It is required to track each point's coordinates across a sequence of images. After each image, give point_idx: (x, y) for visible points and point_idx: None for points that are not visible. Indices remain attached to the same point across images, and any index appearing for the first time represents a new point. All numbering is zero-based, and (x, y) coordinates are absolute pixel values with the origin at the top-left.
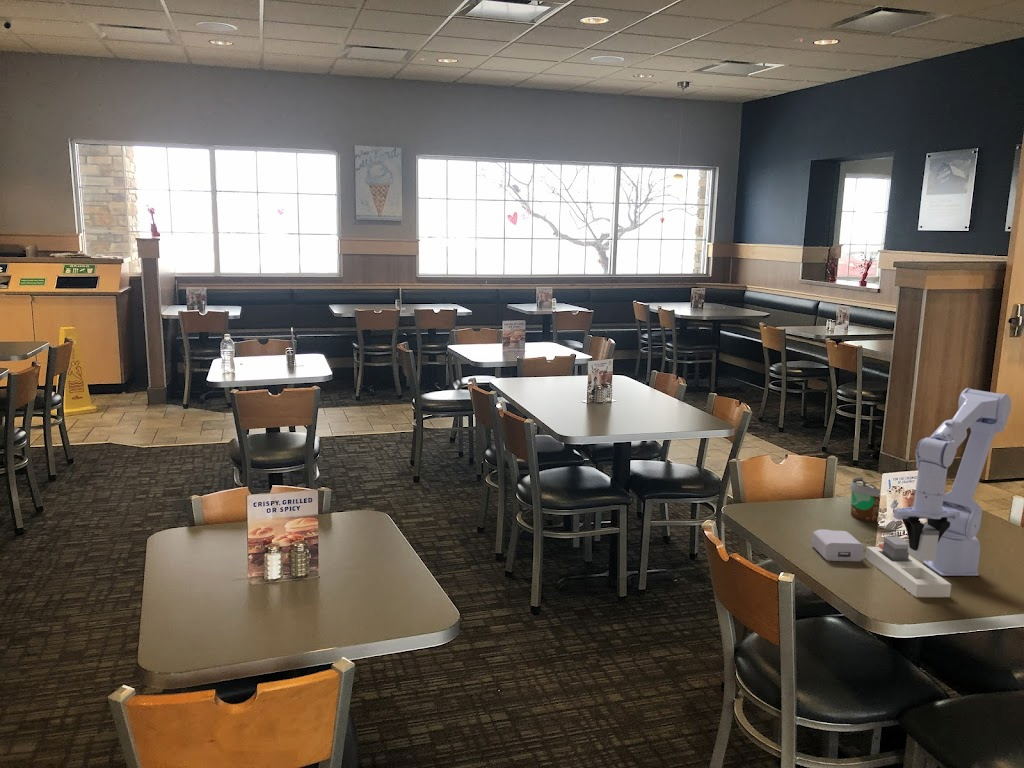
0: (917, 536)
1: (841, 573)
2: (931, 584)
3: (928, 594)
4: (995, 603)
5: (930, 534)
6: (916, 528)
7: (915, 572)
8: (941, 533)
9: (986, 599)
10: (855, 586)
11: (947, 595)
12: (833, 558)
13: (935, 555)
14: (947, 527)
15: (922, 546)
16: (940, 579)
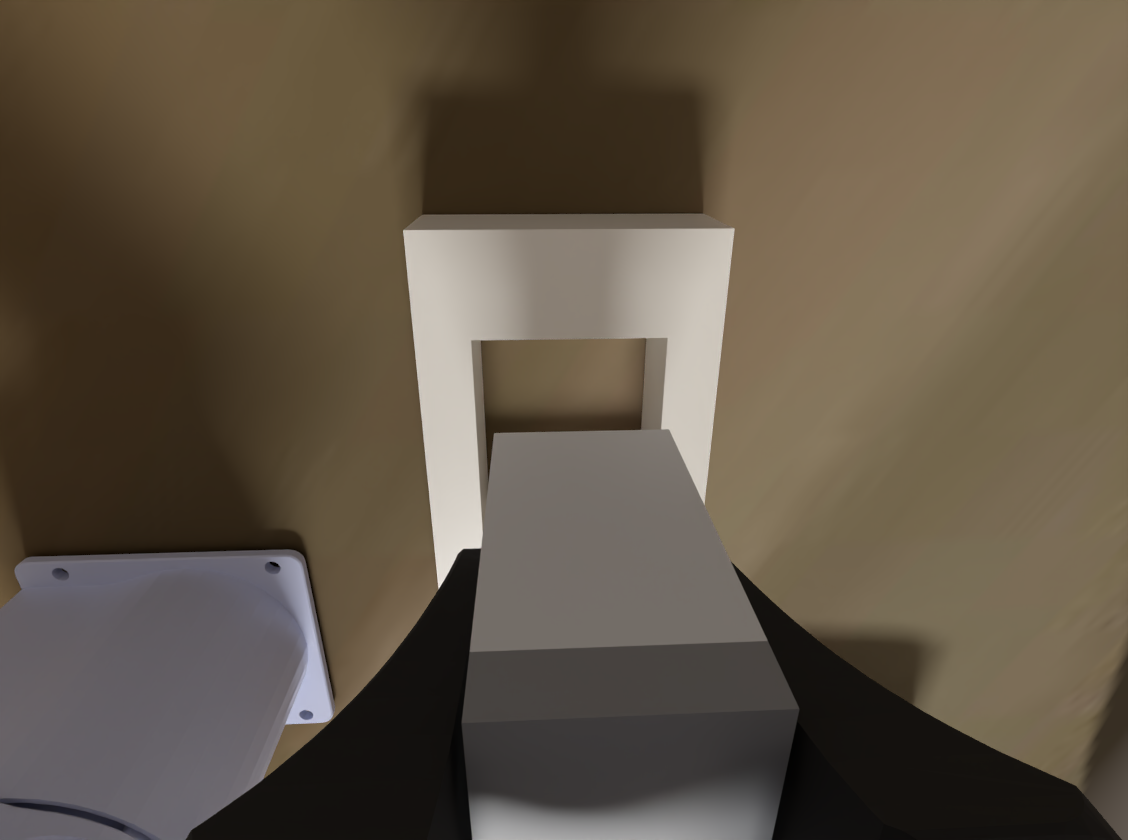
0: (799, 655)
1: (947, 567)
2: (596, 229)
3: (601, 217)
4: (68, 87)
5: (636, 658)
6: (973, 758)
7: None
8: (382, 711)
9: (120, 170)
10: (1009, 391)
11: (440, 215)
12: None
13: (496, 462)
14: (252, 812)
15: (701, 521)
16: (448, 336)
